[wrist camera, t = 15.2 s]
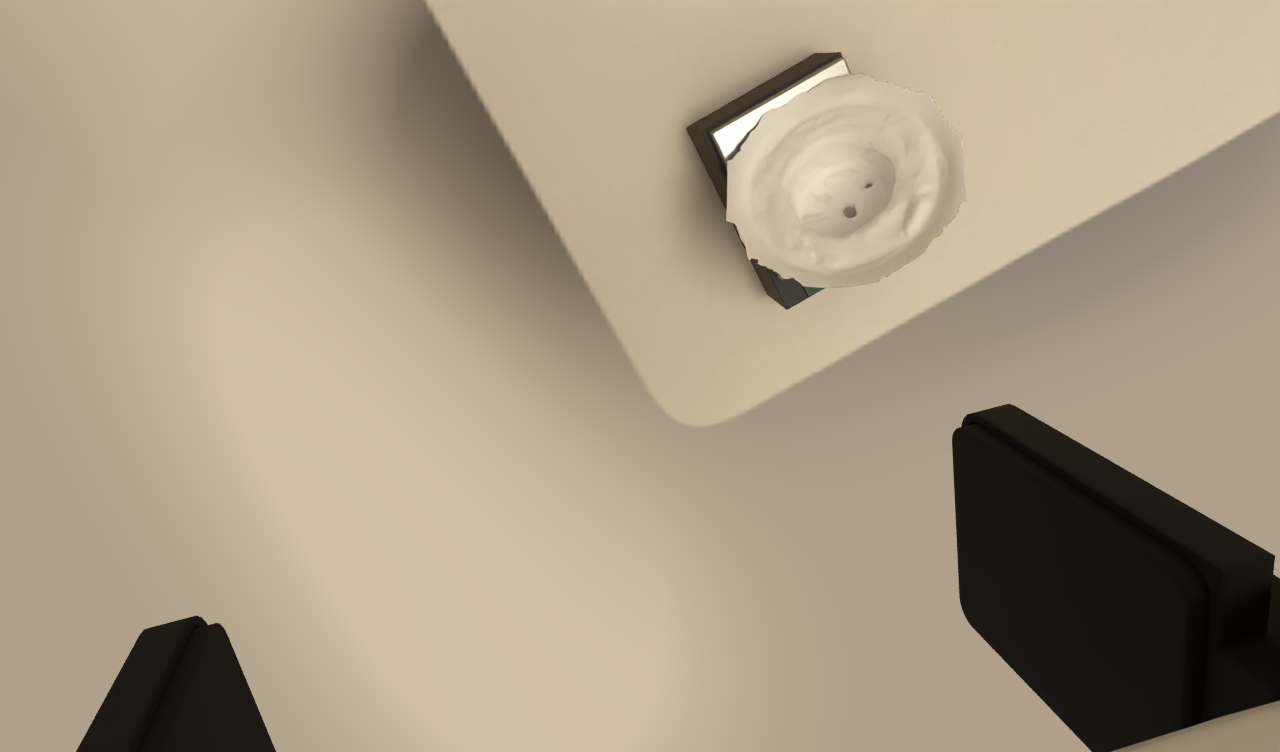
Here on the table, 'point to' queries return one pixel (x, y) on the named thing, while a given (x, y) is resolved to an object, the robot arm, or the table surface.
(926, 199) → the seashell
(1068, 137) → the table surface
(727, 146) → the scale pan
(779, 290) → the scale
